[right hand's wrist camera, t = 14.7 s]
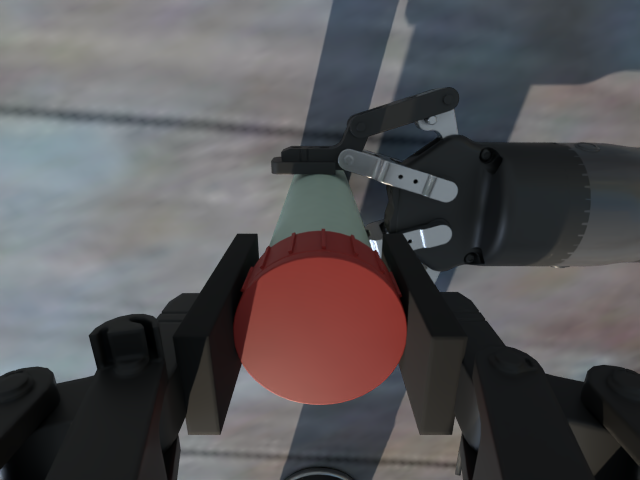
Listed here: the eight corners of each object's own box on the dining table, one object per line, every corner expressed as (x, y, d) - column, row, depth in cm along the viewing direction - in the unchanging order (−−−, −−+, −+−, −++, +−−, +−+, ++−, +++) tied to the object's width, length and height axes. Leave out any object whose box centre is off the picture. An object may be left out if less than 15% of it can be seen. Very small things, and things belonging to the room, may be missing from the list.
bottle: (295, 212, 29) (255, 386, 11) (290, 158, 28) (236, 260, 10) (348, 209, 29) (393, 380, 11) (346, 155, 28) (394, 252, 10)
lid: (401, 352, 13) (415, 397, 11) (260, 369, 13) (250, 416, 11) (389, 217, 11) (404, 242, 9) (229, 240, 11) (210, 268, 9)
